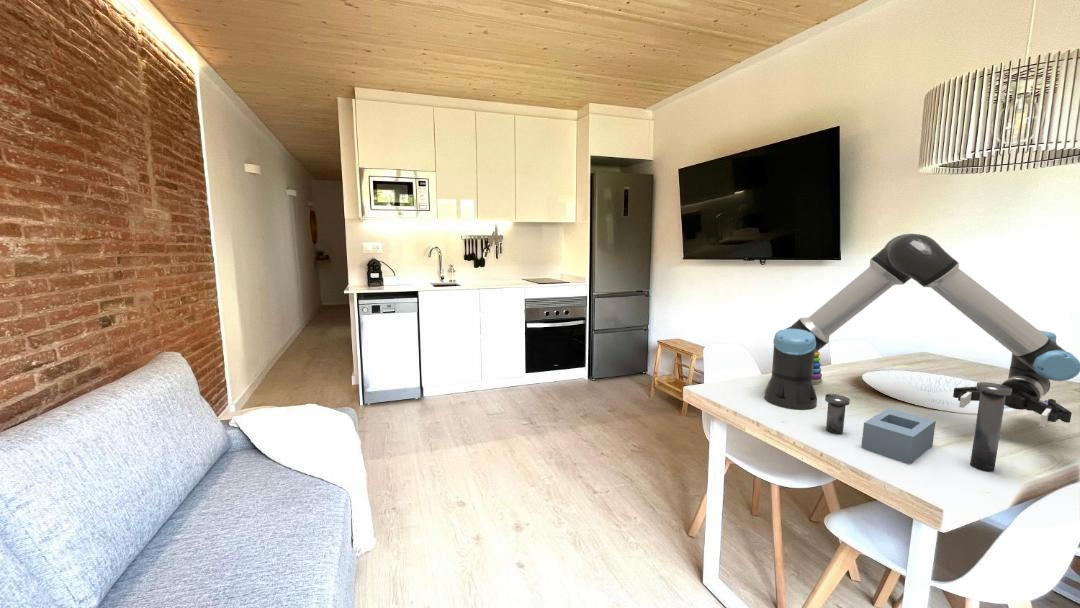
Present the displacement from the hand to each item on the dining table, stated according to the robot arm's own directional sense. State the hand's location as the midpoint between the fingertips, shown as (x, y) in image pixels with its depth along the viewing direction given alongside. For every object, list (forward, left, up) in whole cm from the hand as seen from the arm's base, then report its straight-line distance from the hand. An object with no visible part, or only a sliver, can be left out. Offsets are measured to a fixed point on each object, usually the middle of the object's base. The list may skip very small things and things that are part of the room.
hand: (1000, 411), depth 104 cm
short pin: (-9, -31, -12) cm, 35 cm away
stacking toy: (-54, -21, -12) cm, 59 cm away
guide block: (-2, -20, -12) cm, 23 cm away
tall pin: (+6, -6, -12) cm, 15 cm away
